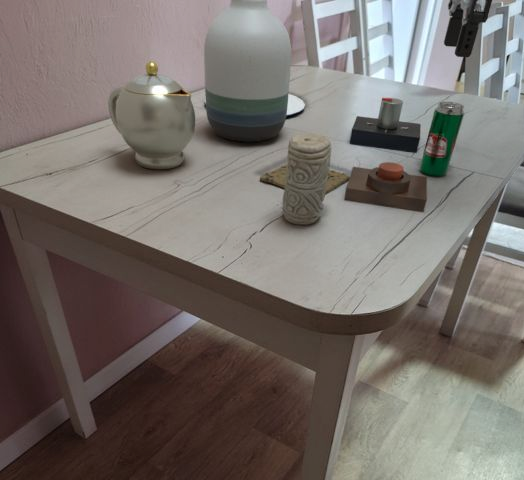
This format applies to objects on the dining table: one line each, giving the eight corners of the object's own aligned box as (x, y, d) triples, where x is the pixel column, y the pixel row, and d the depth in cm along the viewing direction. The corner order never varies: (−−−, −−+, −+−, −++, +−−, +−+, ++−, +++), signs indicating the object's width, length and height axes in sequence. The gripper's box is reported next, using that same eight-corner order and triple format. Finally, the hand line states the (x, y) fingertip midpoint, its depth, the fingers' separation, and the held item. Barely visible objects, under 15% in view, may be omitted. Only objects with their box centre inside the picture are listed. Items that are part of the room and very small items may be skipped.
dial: (398, 124, 105) (403, 97, 102) (397, 130, 102) (403, 103, 98) (377, 121, 106) (382, 95, 102) (376, 127, 103) (381, 100, 99)
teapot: (214, 159, 93) (212, 61, 82) (171, 183, 83) (163, 76, 73) (138, 141, 98) (127, 47, 88) (90, 161, 89) (72, 59, 78)
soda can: (413, 171, 93) (431, 103, 85) (427, 165, 96) (445, 99, 88) (437, 180, 90) (457, 110, 82) (450, 173, 93) (471, 105, 85)
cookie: (316, 200, 81) (316, 194, 80) (257, 180, 86) (258, 174, 85) (351, 179, 88) (352, 174, 87) (295, 162, 93) (296, 157, 93)
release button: (401, 174, 82) (404, 164, 81) (400, 183, 79) (403, 172, 78) (377, 171, 82) (380, 160, 81) (376, 179, 79) (378, 169, 78)
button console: (423, 188, 87) (429, 166, 84) (423, 212, 79) (429, 188, 77) (350, 178, 89) (354, 156, 86) (344, 200, 81) (348, 177, 79)
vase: (230, 118, 113) (230, -11, 97) (297, 131, 108) (309, -2, 92) (191, 138, 101) (184, -4, 85) (264, 154, 96) (271, 6, 80)
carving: (278, 226, 73) (284, 144, 65) (285, 205, 79) (291, 127, 71) (319, 232, 73) (331, 149, 65) (324, 210, 78) (335, 132, 70)
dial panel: (417, 138, 108) (420, 122, 106) (416, 152, 101) (420, 136, 99) (354, 130, 111) (357, 115, 109) (349, 143, 103) (352, 128, 101)
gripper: (542, -94, 57) (493, 62, 68) (508, -91, 68) (470, 44, 79) (477, -98, 58) (439, 59, 68) (453, -94, 68) (423, 41, 79)
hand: (455, 51), depth 74 cm, fingers open, 8 cm apart
